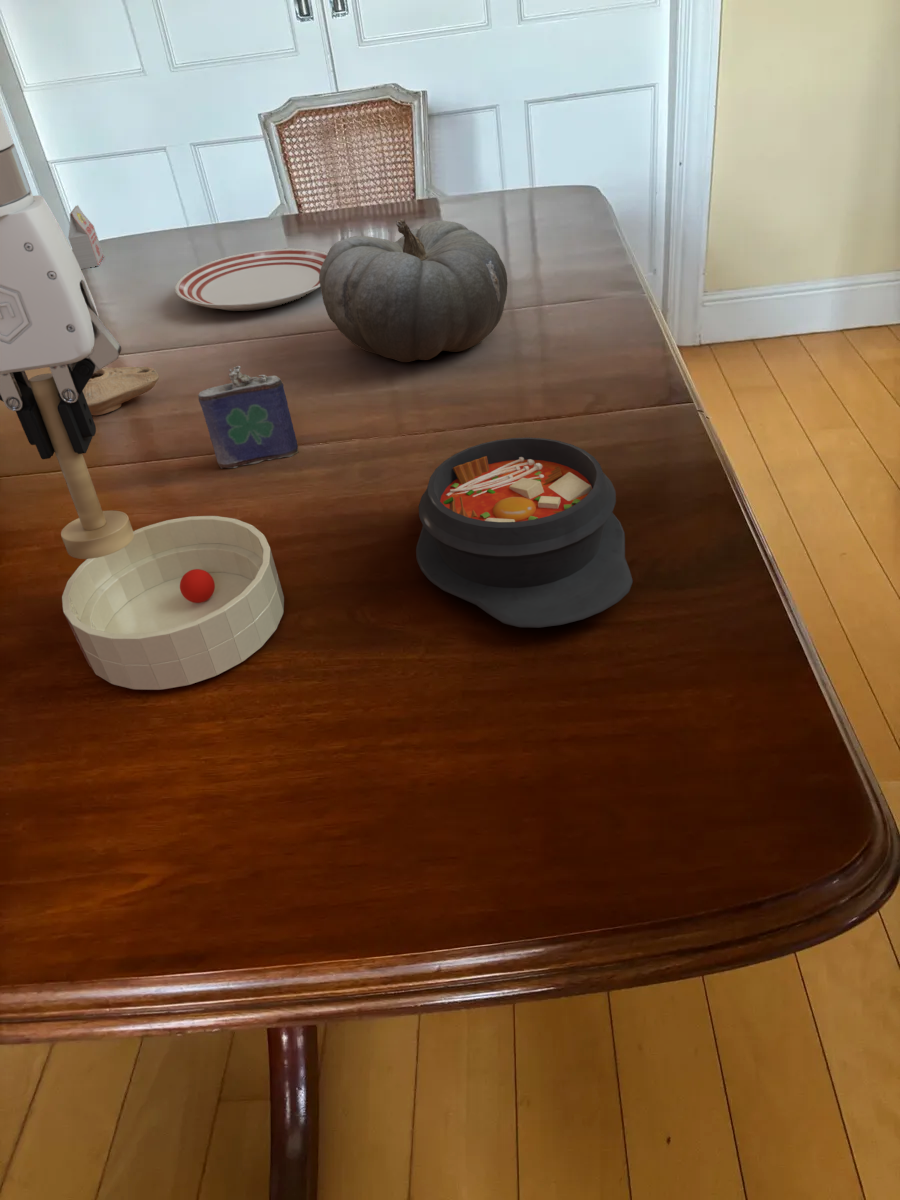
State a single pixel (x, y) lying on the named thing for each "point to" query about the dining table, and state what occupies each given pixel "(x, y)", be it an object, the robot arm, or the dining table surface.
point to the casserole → (524, 532)
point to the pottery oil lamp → (117, 387)
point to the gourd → (415, 290)
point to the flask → (248, 420)
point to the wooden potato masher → (79, 486)
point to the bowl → (175, 603)
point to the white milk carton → (84, 240)
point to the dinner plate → (253, 279)
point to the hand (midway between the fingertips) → (67, 446)
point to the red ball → (197, 586)
